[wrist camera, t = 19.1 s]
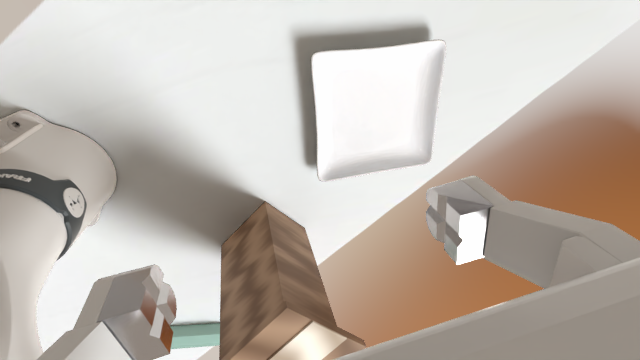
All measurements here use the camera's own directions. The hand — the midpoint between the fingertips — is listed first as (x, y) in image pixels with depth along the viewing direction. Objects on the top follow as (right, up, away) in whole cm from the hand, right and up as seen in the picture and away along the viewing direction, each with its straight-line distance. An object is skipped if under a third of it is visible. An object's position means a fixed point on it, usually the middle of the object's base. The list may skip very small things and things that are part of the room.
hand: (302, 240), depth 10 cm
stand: (-10, -9, +53) cm, 55 cm away
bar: (-29, -29, +60) cm, 73 cm away
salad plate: (+9, +14, +46) cm, 49 cm away
